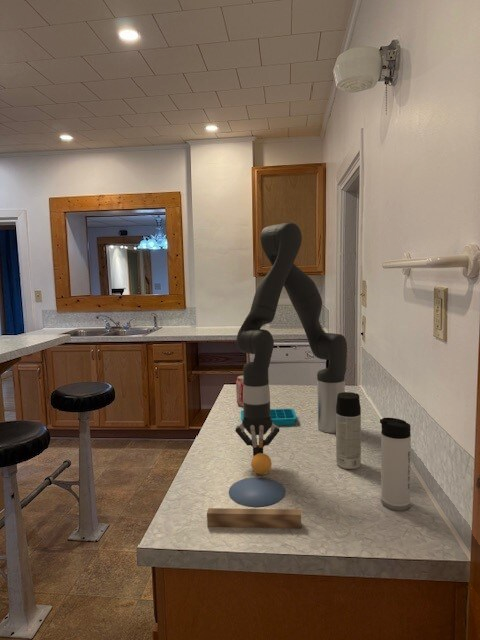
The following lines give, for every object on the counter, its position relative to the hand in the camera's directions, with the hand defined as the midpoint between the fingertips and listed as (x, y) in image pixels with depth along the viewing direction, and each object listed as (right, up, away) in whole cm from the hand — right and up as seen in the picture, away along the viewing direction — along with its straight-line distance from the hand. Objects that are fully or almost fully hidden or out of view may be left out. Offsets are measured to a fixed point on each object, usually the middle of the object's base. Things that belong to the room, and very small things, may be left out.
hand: (258, 458), depth 118 cm
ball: (+1, +1, -6) cm, 6 cm away
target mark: (-1, -3, -15) cm, 15 cm away
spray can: (+25, -1, -2) cm, 25 cm away
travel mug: (+30, -3, -22) cm, 38 cm away
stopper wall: (-2, -5, -29) cm, 29 cm away
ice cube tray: (+5, +1, +36) cm, 36 cm away
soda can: (-3, +4, +56) cm, 57 cm away
